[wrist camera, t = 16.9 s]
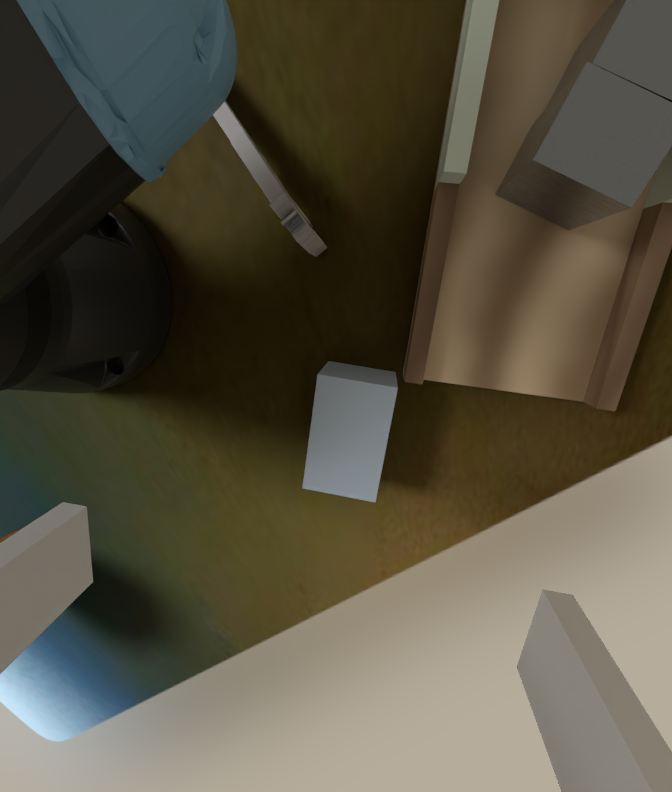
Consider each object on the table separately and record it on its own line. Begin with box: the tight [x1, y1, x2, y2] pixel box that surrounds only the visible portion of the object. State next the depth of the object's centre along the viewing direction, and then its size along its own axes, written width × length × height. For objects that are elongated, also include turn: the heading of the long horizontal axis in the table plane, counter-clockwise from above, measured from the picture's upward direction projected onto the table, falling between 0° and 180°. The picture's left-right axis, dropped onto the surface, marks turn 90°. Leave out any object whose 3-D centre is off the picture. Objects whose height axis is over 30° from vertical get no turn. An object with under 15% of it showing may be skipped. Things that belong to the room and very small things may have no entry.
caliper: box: [213, 100, 327, 257], centre depth 21 cm, size 20×1×6 cm, turn 36°
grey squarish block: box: [495, 61, 672, 230], centre depth 19 cm, size 5×4×6 cm
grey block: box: [303, 361, 398, 502], centre depth 26 cm, size 5×5×8 cm
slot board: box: [403, 0, 672, 411], centre depth 22 cm, size 13×24×2 cm, turn 173°
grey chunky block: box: [544, 0, 672, 111], centre depth 18 cm, size 5×4×6 cm
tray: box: [435, 0, 672, 209], centre depth 19 cm, size 13×12×4 cm
